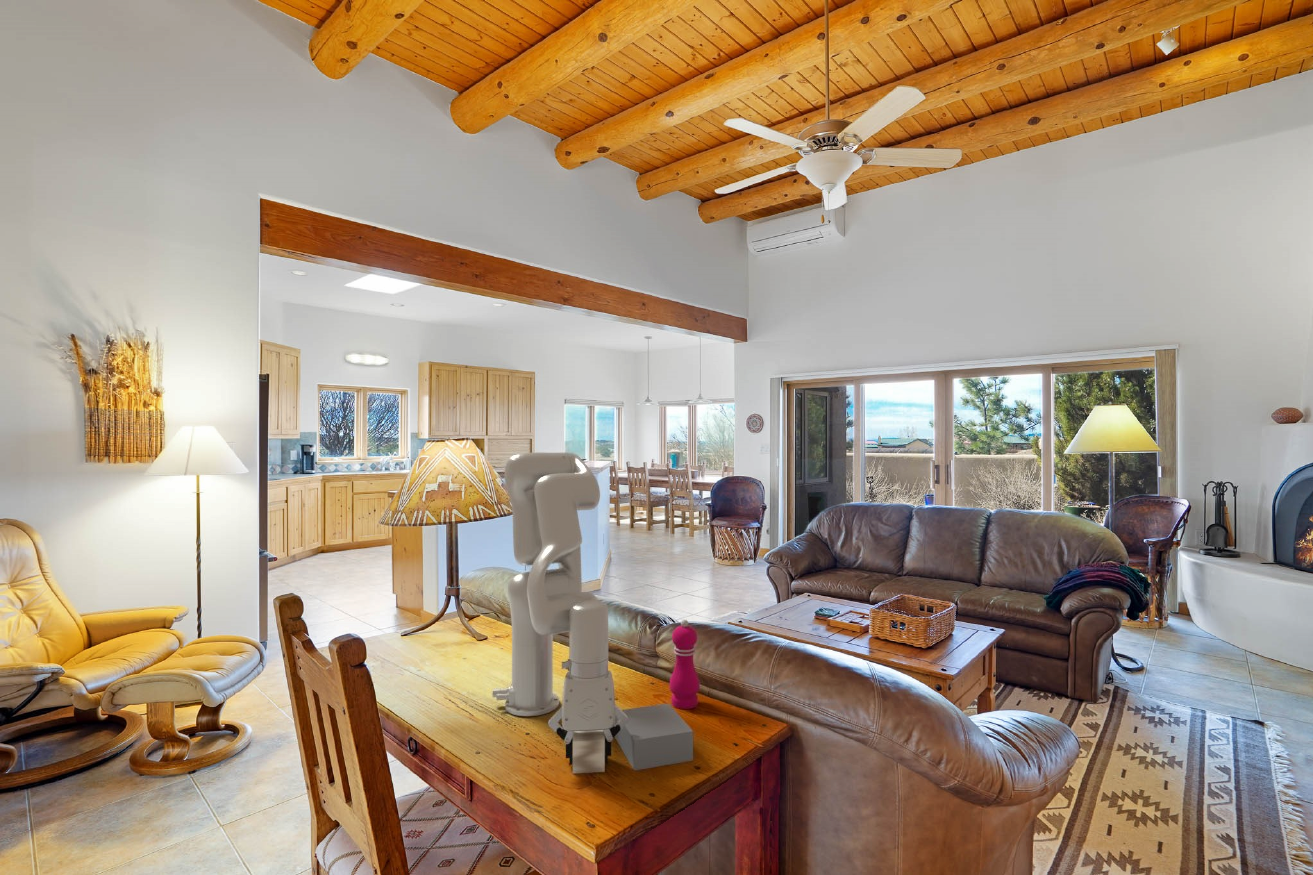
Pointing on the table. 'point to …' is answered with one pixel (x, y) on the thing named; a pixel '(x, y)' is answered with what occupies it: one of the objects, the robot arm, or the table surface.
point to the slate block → (655, 737)
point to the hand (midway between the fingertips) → (588, 759)
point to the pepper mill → (684, 668)
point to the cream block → (588, 751)
